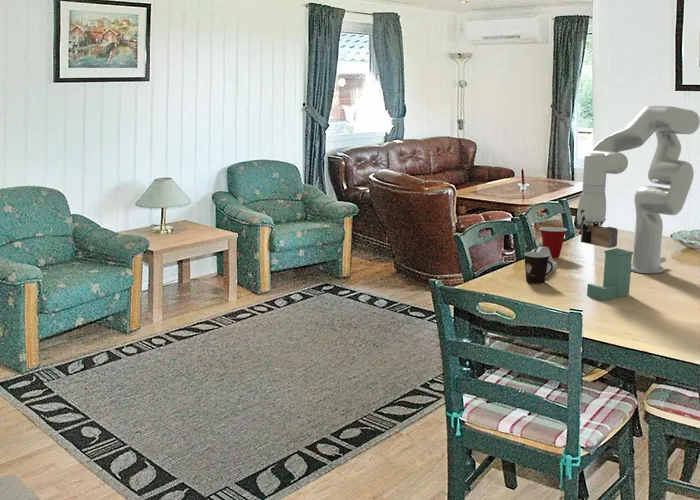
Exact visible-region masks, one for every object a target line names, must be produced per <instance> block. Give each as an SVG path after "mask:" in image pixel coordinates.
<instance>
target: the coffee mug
mask: <svg viewBox="0 0 700 500" xmlns="http://www.w3.org/2000/svg"><path fill="white" fill-rule="evenodd" d="M523 256H524V257H523V258H524V270H525V271H524V272H525V281H526V283H527V282H528V284H530V283H532V285H541V284H542V283H543V284H545V283H546V275H548V274H549V273H550V272H551V271H552V270H553V265H552V263H551V262H550V261H548V259H549V254H547V253H543V252H531V251H528V252H527V251H526V252H525V253H524V254H523ZM548 263H549V264H550V265H551V270H550V271H549V272H548V273H546V271H547V265H548ZM551 273H552V272H551ZM551 273H550V274H551ZM550 274H549V275H550ZM549 275H548V276H549Z"/></svg>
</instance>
